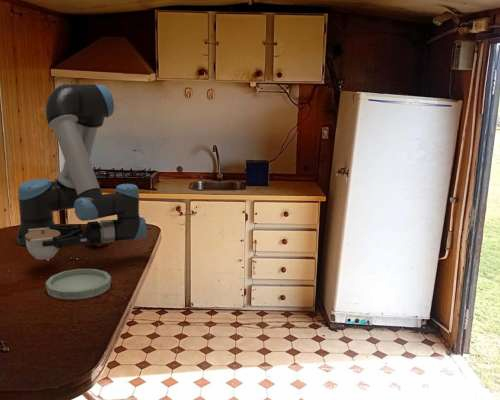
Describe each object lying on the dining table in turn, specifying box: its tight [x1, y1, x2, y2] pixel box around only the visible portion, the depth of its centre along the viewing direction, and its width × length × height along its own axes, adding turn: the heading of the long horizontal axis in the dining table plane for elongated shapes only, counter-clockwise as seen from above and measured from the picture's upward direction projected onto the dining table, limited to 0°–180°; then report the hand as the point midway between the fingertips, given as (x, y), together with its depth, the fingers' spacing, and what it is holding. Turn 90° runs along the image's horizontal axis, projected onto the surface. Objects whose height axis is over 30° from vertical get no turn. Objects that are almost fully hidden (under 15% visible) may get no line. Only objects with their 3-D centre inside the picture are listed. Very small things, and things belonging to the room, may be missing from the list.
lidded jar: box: [25, 229, 62, 261], centre depth 171 cm, size 11×11×9 cm
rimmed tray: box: [45, 268, 112, 301], centre depth 160 cm, size 18×18×2 cm
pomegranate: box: [86, 242, 107, 248], centre depth 198 cm, size 7×7×10 cm
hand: (29, 238), depth 169 cm, fingers closed on lidded jar, 11 cm apart
